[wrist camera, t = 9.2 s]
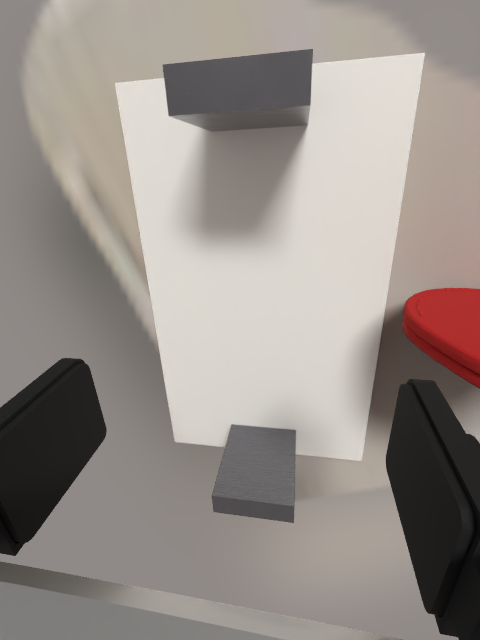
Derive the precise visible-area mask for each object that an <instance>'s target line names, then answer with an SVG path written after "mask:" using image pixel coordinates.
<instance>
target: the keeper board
mask: <svg viewBox="0 0 480 640" xmlns="http://www.w3.org/2000/svg"><path fill="white" fill-rule="evenodd" d="M424 55H425V53H418V54H407V55H397V56H387V57H377V58H366V59H356V60H346V61H335V62H325V63H315V64H312V57H313V49H308V50H299V51H289V52H280V53H270V54H261V55H251V56H241V57H232V58H222V59H213V60H203V61H194V62H184V63H175V64H165V65H163V72H164V78H161V79H151V80H140V81H130V82H120V83H115V87H116V93H117V99H118V105H119V111H120V117H121V123H122V129H123V135H124V141H125V147H126V153H127V159H128V165H129V171H130V177H131V183H132V189H133V195H134V201H135V207H136V212H137V218H138V224H139V230H140V236H141V242H142V248H143V254H144V260H145V266H146V272H147V278H148V284H149V290H150V296H151V302H152V308H153V314H154V320H155V326H156V332H157V338H158V344H159V350H160V356H161V362H162V368H163V374H164V380H165V386H166V392H167V398H168V404H169V410H170V416H171V422H172V428H173V434H174V440H175V442H180V443H190V444H200V445H209V446H219V447H225V450H224V453H223V457H222V461H221V464H220V468H219V472H218V475H217V479H216V482H215V486H214V490H213V494H212V500H213V509H214V512H219V513H226V514H234V515H241V516H248V517H256V518H263V519H270V520H277V521H285V522H292V523H294V497H295V455H296V454H298V455H308V456H317V457H327V458H337V459H347V460H357V461H362V454H363V448H364V442H365V435H366V429H367V422H368V416H369V409H370V403H371V396H372V390H373V384H374V377H375V371H376V364H377V358H378V351H379V345H380V339H381V332H382V326H383V319H384V313H385V306H386V300H387V293H388V287H389V281H390V274H391V268H392V261H393V255H394V248H395V242H396V235H397V229H398V223H399V216H400V210H401V203H402V197H403V190H404V184H405V178H406V171H407V165H408V158H409V152H410V145H411V139H412V132H413V126H414V120H415V113H416V107H417V100H418V94H419V87H420V81H421V75H422V68H423V62H424Z"/></svg>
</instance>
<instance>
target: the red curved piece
mask: <svg viewBox="0 0 480 640" xmlns="http://www.w3.org/2000/svg"><path fill="white" fill-rule="evenodd" d="M403 316H404V317H403V320H402V322H403V330H404V332H405V334H406V335H407V337H408V338H409V339H410V340H411V341H412V342H413V343H414V344H415V345H416V346H417V347H418V348H420V349H421V350H422V351H424V352H425V353H426V354H428V355H429V356H430V357H432V358H433V359H434V360H436V361H437V362H439V363H440V364H442V365H443V366H445V367H446V368H448V369H449V370H451V371H452V372H454V373H455V374H457V375H458V376H460V377H461V378H463V379H465V380H466V381H468V382H470V383H471V384H473V385H475V386H476V387H478V388H480V289H470V288H443V289H432V290H426V291H422V292H420V293H417V294H415V295H413V296H412V297H410V298H409V299H408V300H407V301H406V304H405V307H404V311H403Z"/></svg>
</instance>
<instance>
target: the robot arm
mask: <svg viewBox="0 0 480 640" xmlns="http://www.w3.org/2000/svg"><path fill="white" fill-rule="evenodd" d="M105 436H106V426H105V422H104V419H103V415H102V411H101V407H100V404H99V400H98V396H97V393H96V389H95V386H94V382H93V378H92V375H91V371H90V368H89V366H88V365H87V364H85V362H84V361H83V360H81V359H72V358H63V359H61V360H59V361H58V362H57V363H55V364H54V365H53V366H52V367H50V368H49V369H48V370H47V371H45V372H44V373H43V374H42V375H40V376H39V377H38V378H37V379H36V380H34V381H33V382H32V383H31V384H29V385H28V386H27V387H26V388H25V389H23V390H22V391H21V392H19V393H18V394H17V395H16V396H14V397H13V398H12V399H11V400H9V401H8V402H7V403H6V404H4V405H3V406H2V407H1V408H0V553H2V554H7V555H13V556H16V554H17V553H18V552H19V550H20V549H21V548H22V546H23V544H25V543H26V542H28V541H30V540H31V539H32V538H33V537H34V535H35V534H36V533H37V531H38V530H39V529H40V527H41V526H42V524H43V523H44V522H45V520H46V519H47V517H48V516H49V515H50V513H51V512H52V510H53V509H54V508H55V506H56V505H57V504H58V502H59V501H60V500H61V498H62V496H63V495H64V494H65V493H66V491H67V490H68V489H69V487H70V486H71V484H72V483H73V482H74V480H75V479H76V477H77V476H78V475H79V473H80V472H81V471H82V469H83V468H84V466H85V465H86V464H87V462H88V461H89V459H90V458H91V457H92V455H93V454H94V453H95V451H96V450H97V449H98V447H99V446H100V444H101V443H102V442H103V440H104V438H105ZM386 468H387V473H388V476H389V480H390V484H391V487H392V491H393V494H394V498H395V502H396V506H397V509H398V513H399V517H400V520H401V524H402V527H403V531H404V535H405V539H406V542H407V546H408V549H409V553H410V557H411V561H412V564H413V568H414V571H415V575H416V579H417V583H418V586H419V590H420V594H421V597H422V601H423V604H424V607H425V609H426V611H427V612H428V613H429V614H434V615H435V618H436V622H437V625H438V628H439V632H440V634H444V635H449V636H455V637H458V638H459V640H480V443H479V442H478V441H477V439H476V438H475V437H474V436H472V435H470V434H466V433H465V431H464V429H463V428H462V426H461V424H460V423H459V421H458V419H457V418H456V416H455V415H454V413H453V411H452V410H451V408H450V406H449V405H448V403H447V401H446V400H445V398H444V396H443V395H442V393H441V391H440V390H439V388H438V386H437V385H436V383H435V382H434V381H431V380H415V379H410V380H409V381H408V382H407V384H401V386H400V388H399V393H398V398H397V403H396V408H395V414H394V419H393V424H392V429H391V434H390V439H389V444H388V449H387V454H386ZM0 640H401V639H396V638H391V637H387V636H382V635H377V634H373V633H368V632H364V631H359V630H354V629H350V628H345V627H340V626H335V625H331V624H326V623H322V622H317V621H312V620H306V619H301V618H296V617H291V616H286V615H281V614H276V613H271V612H265V611H260V610H255V609H250V608H245V607H240V606H234V605H229V604H224V603H219V602H214V601H208V600H204V599H198V598H193V597H188V596H183V595H178V594H172V593H167V592H162V591H156V590H151V589H145V588H141V587H135V586H130V585H124V584H119V583H114V582H108V581H103V580H98V579H92V578H87V577H81V576H76V575H71V574H66V573H61V572H54V571H50V570H44V569H39V568H32V567H27V566H22V565H17V564H11V563H6V562H0Z"/></svg>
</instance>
